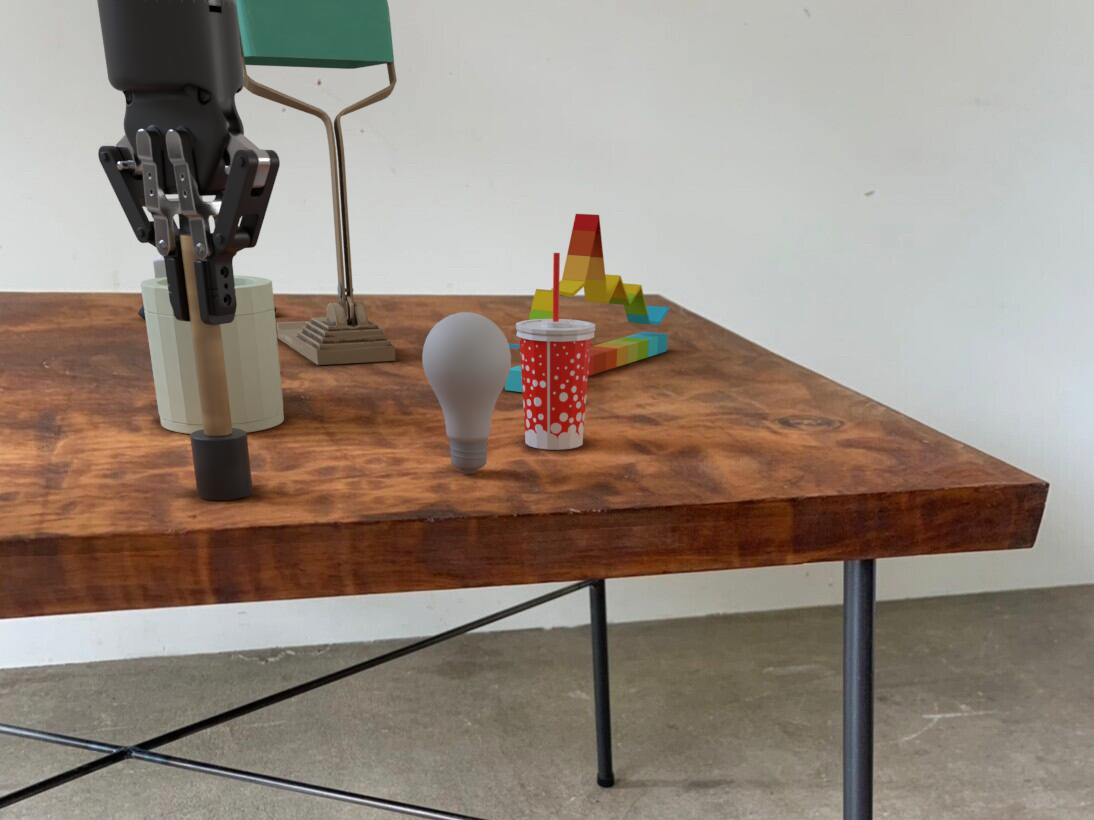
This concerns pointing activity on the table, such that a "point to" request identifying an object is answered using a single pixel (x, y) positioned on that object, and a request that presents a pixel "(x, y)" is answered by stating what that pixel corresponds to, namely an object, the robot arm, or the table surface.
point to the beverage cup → (554, 376)
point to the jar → (244, 357)
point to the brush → (213, 406)
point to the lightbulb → (467, 381)
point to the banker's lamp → (327, 42)
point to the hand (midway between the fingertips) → (205, 320)
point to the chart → (600, 288)
